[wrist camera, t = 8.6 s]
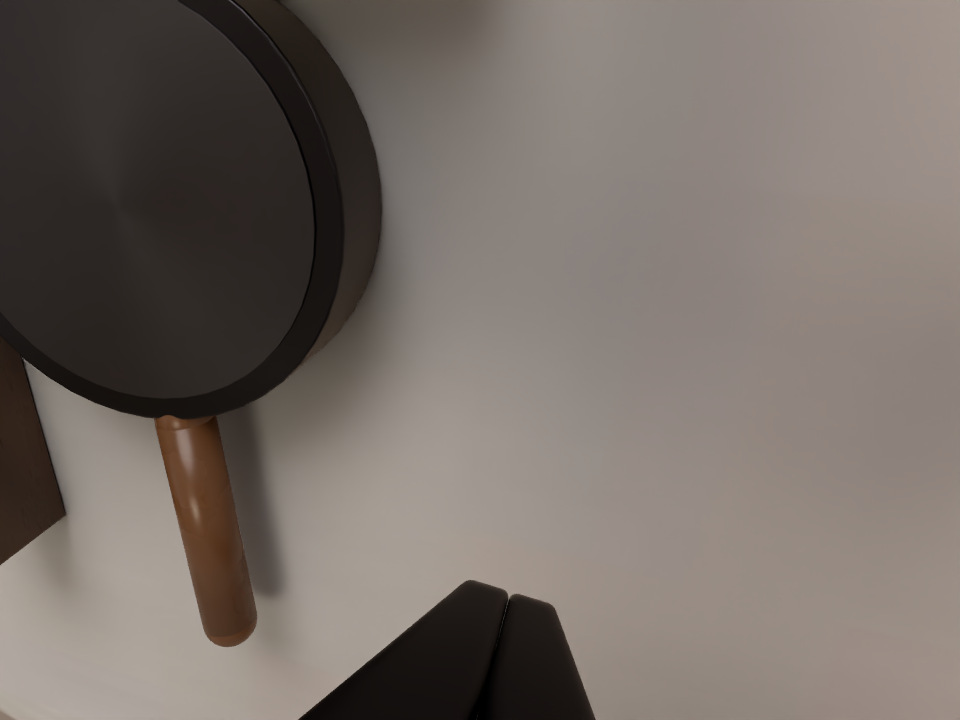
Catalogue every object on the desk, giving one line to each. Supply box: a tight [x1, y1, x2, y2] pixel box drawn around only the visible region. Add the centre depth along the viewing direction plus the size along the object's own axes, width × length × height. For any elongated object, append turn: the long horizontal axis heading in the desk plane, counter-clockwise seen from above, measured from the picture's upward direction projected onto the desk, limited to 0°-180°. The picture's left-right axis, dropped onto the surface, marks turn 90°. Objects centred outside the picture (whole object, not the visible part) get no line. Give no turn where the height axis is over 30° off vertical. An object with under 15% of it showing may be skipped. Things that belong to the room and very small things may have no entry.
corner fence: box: [0, 336, 65, 565], centre depth 17 cm, size 17×16×3 cm
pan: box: [0, 0, 381, 647], centre depth 18 cm, size 17×10×2 cm, turn 4°
